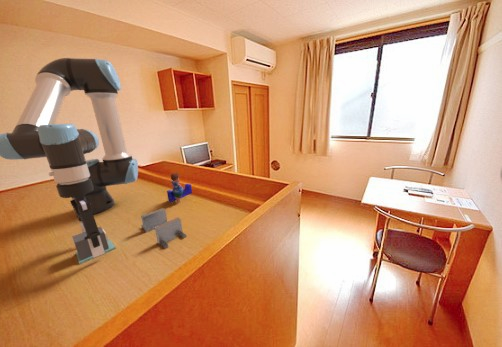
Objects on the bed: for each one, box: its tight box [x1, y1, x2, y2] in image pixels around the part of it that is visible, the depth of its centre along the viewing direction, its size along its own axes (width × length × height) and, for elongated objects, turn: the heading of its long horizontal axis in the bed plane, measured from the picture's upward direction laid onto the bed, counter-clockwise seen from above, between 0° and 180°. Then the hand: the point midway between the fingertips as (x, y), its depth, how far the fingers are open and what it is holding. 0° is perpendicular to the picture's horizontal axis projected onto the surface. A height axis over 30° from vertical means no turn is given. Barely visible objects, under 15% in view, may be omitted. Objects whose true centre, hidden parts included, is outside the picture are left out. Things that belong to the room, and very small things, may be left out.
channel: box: [140, 207, 188, 249], centre depth 70 cm, size 19×8×6 cm, turn 48°
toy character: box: [168, 172, 184, 204], centre depth 92 cm, size 12×5×15 cm, turn 47°
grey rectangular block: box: [72, 226, 109, 260], centre depth 60 cm, size 5×7×6 cm
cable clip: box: [166, 183, 193, 203], centre depth 99 cm, size 12×4×6 cm, turn 146°
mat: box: [75, 238, 116, 265], centre depth 62 cm, size 7×9×1 cm
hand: (94, 246), depth 61 cm, fingers open, 12 cm apart
